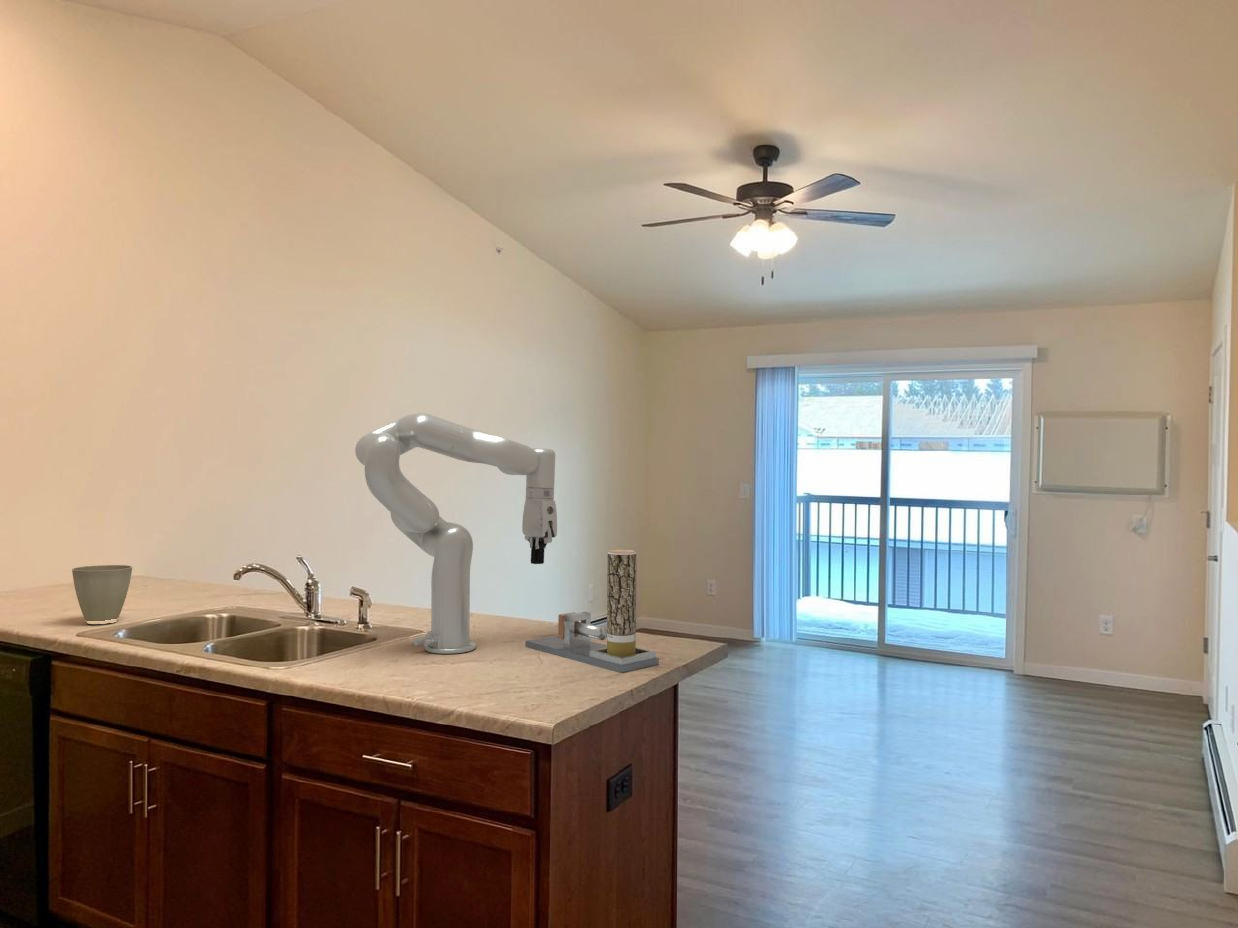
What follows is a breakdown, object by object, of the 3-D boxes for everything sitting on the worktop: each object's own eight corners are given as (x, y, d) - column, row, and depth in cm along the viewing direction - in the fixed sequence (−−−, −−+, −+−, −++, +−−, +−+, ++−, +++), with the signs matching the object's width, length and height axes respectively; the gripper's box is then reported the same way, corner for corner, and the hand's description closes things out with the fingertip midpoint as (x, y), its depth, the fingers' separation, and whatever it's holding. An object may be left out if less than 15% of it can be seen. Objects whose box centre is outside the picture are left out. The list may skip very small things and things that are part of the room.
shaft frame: (621, 672, 192) (621, 630, 192) (525, 646, 219) (525, 609, 219) (658, 664, 201) (659, 623, 201) (561, 639, 227) (562, 604, 227)
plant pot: (124, 626, 240) (124, 570, 240) (63, 629, 236) (64, 571, 236) (138, 617, 254) (138, 563, 254) (81, 619, 250) (81, 564, 250)
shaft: (595, 647, 204) (595, 622, 204) (558, 638, 215) (558, 614, 215) (610, 644, 208) (610, 620, 208) (573, 635, 218) (573, 612, 218)
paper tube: (614, 661, 196) (615, 553, 196) (601, 655, 203) (602, 550, 202) (640, 658, 200) (641, 551, 199) (627, 652, 206) (628, 549, 206)
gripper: (568, 496, 225) (565, 565, 224) (534, 493, 236) (532, 560, 236) (545, 495, 220) (542, 567, 219) (512, 493, 231) (509, 561, 231)
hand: (537, 563), depth 228 cm, fingers closed
